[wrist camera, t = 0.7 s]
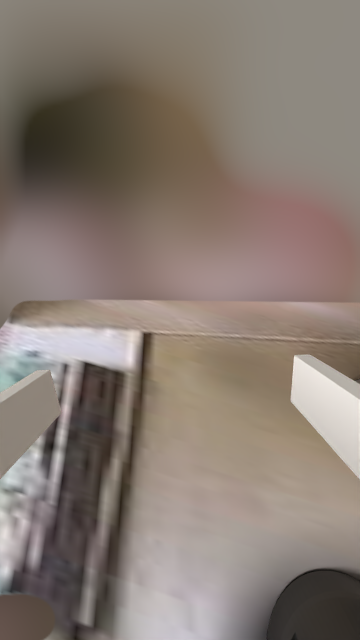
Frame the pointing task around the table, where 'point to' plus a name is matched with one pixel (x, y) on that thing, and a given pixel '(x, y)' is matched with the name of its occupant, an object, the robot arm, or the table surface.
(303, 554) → the table surface
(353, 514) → the table surface
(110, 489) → the table surface
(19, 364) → the table surface
